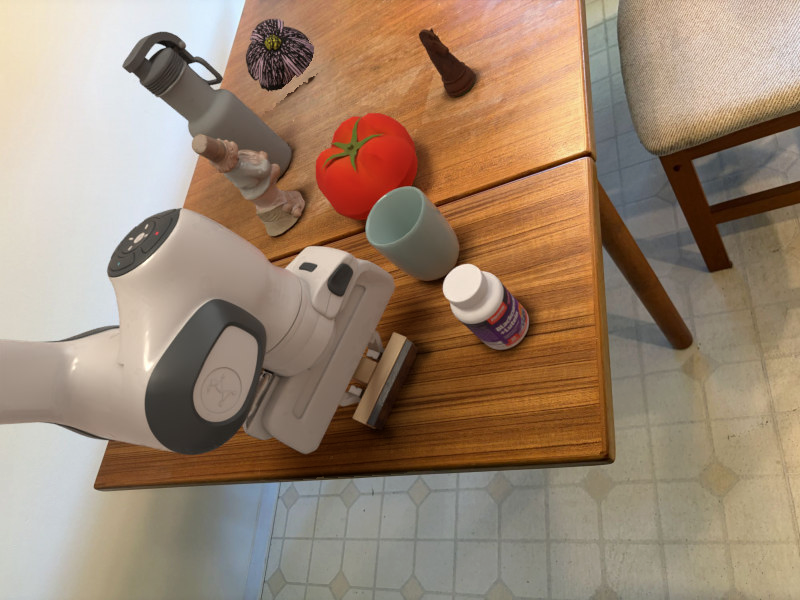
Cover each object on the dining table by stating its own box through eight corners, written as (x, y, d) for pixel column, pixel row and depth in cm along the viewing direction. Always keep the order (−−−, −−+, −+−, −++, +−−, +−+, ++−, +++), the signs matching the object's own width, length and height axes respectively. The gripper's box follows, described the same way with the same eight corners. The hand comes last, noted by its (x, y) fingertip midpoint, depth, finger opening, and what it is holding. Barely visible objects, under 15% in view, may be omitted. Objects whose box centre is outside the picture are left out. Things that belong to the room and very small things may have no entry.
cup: (408, 294, 67) (358, 252, 60) (417, 240, 71) (371, 194, 64) (465, 285, 63) (419, 238, 56) (472, 228, 66) (429, 177, 59)
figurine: (301, 231, 86) (197, 148, 72) (264, 241, 91) (159, 165, 77) (314, 185, 90) (218, 98, 76) (278, 197, 95) (181, 117, 81)
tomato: (375, 251, 74) (327, 210, 67) (332, 197, 86) (287, 157, 79) (453, 174, 73) (412, 123, 66) (398, 130, 84) (359, 82, 77)
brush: (370, 427, 56) (314, 400, 58) (382, 432, 61) (330, 407, 63) (412, 338, 58) (357, 315, 61) (420, 350, 63) (368, 329, 65)
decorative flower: (245, 77, 101) (224, 27, 107) (272, 119, 112) (251, 71, 118) (317, 41, 101) (291, -8, 107) (337, 86, 111) (312, 39, 118)
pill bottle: (523, 353, 55) (478, 311, 48) (476, 348, 58) (428, 307, 51) (536, 304, 56) (495, 256, 50) (489, 302, 60) (445, 256, 53)
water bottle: (271, 145, 105) (140, 27, 85) (303, 142, 99) (170, 14, 79) (245, 190, 103) (105, 79, 83) (277, 190, 96) (132, 71, 76)
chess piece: (461, 100, 79) (424, 45, 72) (440, 94, 82) (402, 41, 75) (482, 75, 79) (447, 18, 72) (459, 69, 82) (424, 15, 75)
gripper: (252, 441, 48) (351, 477, 57) (357, 238, 52) (432, 303, 62) (215, 418, 52) (313, 455, 62) (315, 232, 57) (392, 293, 66)
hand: (373, 377), depth 62 cm, fingers open, 4 cm apart
